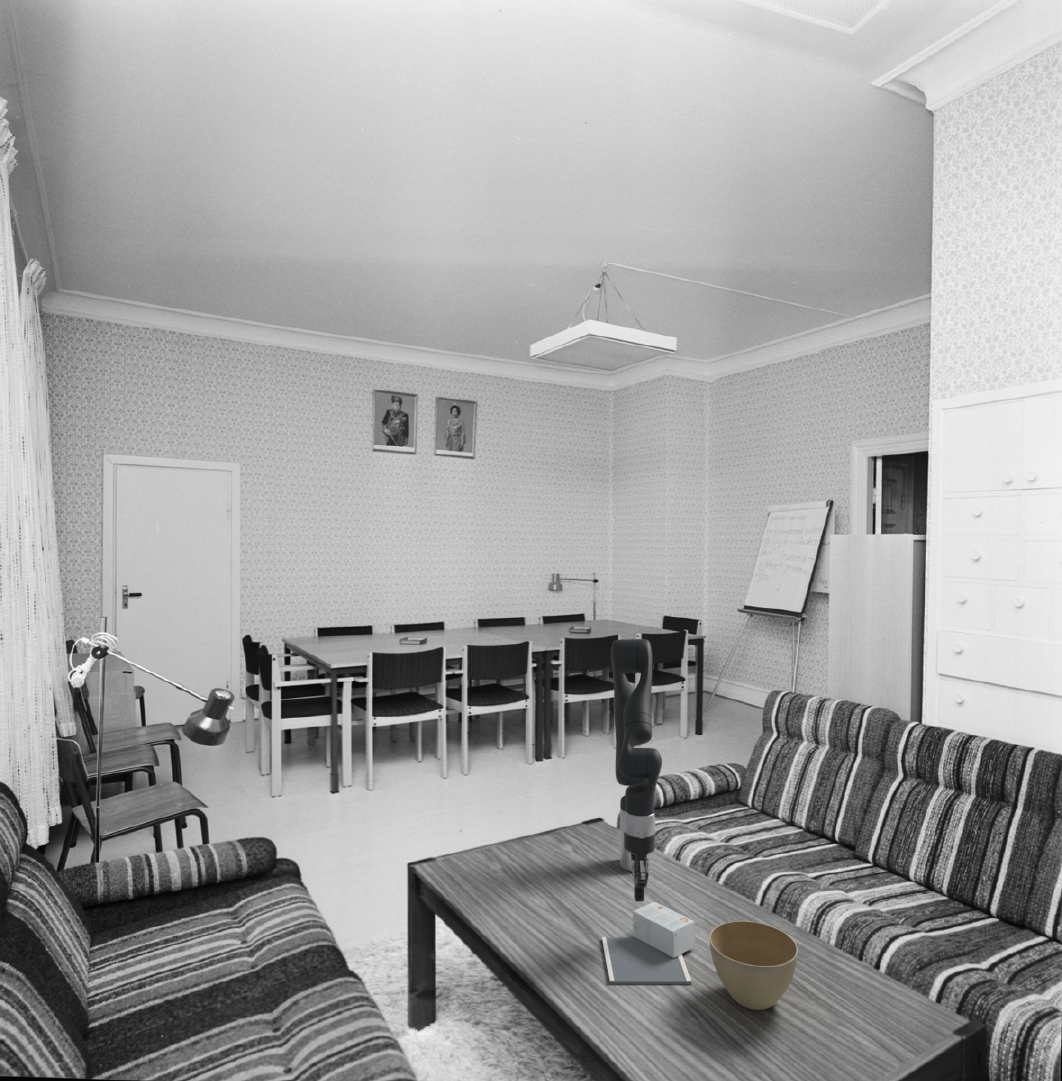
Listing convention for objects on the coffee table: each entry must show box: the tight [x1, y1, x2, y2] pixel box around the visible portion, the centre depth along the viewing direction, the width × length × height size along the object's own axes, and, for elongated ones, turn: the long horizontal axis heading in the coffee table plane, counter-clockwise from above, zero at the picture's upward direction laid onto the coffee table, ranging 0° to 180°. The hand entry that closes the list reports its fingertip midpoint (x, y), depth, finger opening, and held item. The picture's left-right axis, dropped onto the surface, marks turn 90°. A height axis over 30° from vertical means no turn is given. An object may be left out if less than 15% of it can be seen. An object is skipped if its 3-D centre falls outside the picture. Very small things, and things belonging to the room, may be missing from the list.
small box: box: [632, 901, 696, 958], centre depth 181 cm, size 8×6×13 cm
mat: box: [601, 936, 692, 985], centre depth 174 cm, size 18×18×1 cm
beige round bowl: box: [709, 920, 799, 1011], centre depth 160 cm, size 18×18×12 cm
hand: (639, 899), depth 183 cm, fingers closed
